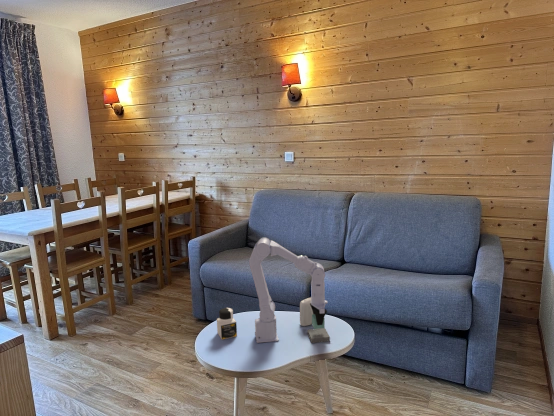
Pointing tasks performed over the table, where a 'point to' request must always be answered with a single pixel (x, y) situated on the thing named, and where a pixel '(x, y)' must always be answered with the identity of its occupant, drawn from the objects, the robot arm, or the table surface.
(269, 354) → the table surface
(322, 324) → the cube
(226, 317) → the medicine bottle
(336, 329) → the table surface
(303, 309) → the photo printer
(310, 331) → the base
